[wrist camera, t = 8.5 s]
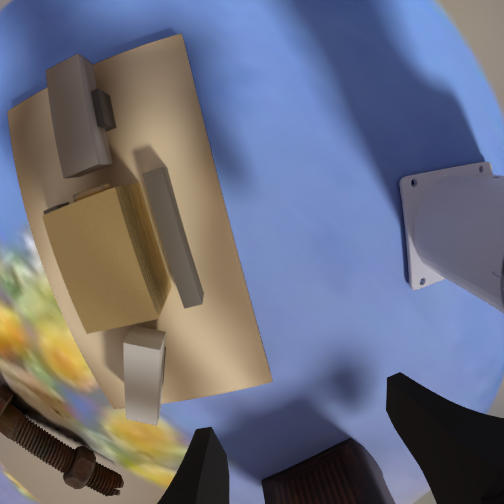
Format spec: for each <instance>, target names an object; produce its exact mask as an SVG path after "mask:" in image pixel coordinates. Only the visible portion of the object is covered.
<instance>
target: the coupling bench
mask: <svg viewBox="0 0 504 504" xmlns="http://www.w3.org/2000/svg"><path fill="white" fill-rule="evenodd" d="M46 78H47V88H45V89H43V90H41V91H40V92H38V93H36V94H34V95H33V96H31V97H29V98H28V99H26V100H24V101H23V102H21V103H20V104H18V105H16V106H15V107H13V108H12V109H10V110H9V111H7V112H8V122H9V130H10V137H11V144H12V150H13V156H14V162H15V167H16V172H17V177H18V182H19V186H20V190H21V195H22V199H23V203H24V207H25V210H26V214H27V218H28V221H29V225H30V228H31V231H32V235H33V238H34V241H35V244H36V247H37V250H38V253H39V256H40V259H41V262H42V265H43V268H44V270H45V273H46V276H47V278H48V281H49V283H50V286H51V288H52V291H53V293H54V296H55V298H56V301H57V303H58V305H59V308H60V310H61V312H62V314H63V317H64V319H65V321H66V323H67V325H68V327H69V329H70V332H71V334H72V336H73V338H74V340H75V342H76V344H77V346H78V348H79V350H80V351H81V353H82V355H83V357H84V359H85V361H86V363H87V365H88V366H89V368H90V370H91V372H92V374H93V375H94V377H95V379H96V381H97V382H98V384H99V386H100V387H101V389H102V391H103V392H104V394H105V396H106V397H107V399H108V400H109V402H110V404H111V405H112V407H113V408H114V409H119V408H126V419H129V420H133V421H138V422H142V423H147V424H152V425H157V423H158V418H159V414H160V409H161V404H163V403H170V402H177V401H183V400H189V399H195V398H201V397H206V396H211V395H217V394H222V393H227V392H231V391H236V390H241V389H245V388H249V387H254V386H258V385H262V384H266V383H270V382H273V381H272V377H271V372H270V368H269V365H268V361H267V358H266V354H265V350H264V347H263V343H262V340H261V336H260V332H259V329H258V325H257V321H256V318H255V314H254V311H253V307H252V303H251V300H250V296H249V292H248V289H247V285H246V281H245V277H244V274H243V270H242V266H241V263H240V259H239V255H238V251H237V248H236V244H235V240H234V236H233V233H232V229H231V225H230V221H229V217H228V214H227V210H226V206H225V202H224V198H223V194H222V191H221V187H220V183H219V179H218V175H217V171H216V167H215V163H214V160H213V156H212V152H211V148H210V144H209V140H208V136H207V132H206V128H205V124H204V120H203V116H202V112H201V108H200V104H199V100H198V96H197V92H196V88H195V84H194V80H193V76H192V72H191V67H190V63H189V59H188V55H187V51H186V47H185V43H184V40H183V36H182V33H181V34H178V35H174V36H171V37H167V38H164V39H161V40H157V41H154V42H151V43H148V44H145V45H142V46H139V47H136V48H133V49H131V50H128V51H125V52H123V53H120V54H117V55H115V56H112V57H110V58H107V59H105V60H103V61H100V62H98V63H96V64H92V63H91V62H90V61H88V60H87V59H86V58H84V57H83V56H81V55H80V54H79V53H78V54H76V55H74V56H72V57H70V58H68V59H66V60H64V61H62V62H60V63H58V64H57V65H55V66H53V67H51V68H49V69H47V70H46ZM106 183H110V185H111V188H114V187H119V186H124V185H129V184H135V183H140V184H141V188H142V192H143V195H144V199H145V202H146V206H147V209H148V213H149V216H150V220H151V223H152V226H153V230H154V233H155V236H156V239H157V242H158V246H159V249H160V252H161V255H162V258H163V261H164V264H165V267H166V270H167V273H168V276H169V279H170V282H171V285H172V288H171V290H170V292H169V295H168V297H167V300H166V302H165V305H164V307H163V310H162V312H161V315H160V317H159V319H155V320H151V321H146V322H142V323H137V324H132V325H128V326H123V327H118V328H114V329H109V330H104V331H99V332H94V333H89V334H87V333H86V331H85V329H84V327H83V325H82V323H81V321H80V318H79V316H78V314H77V312H76V309H75V307H74V305H73V302H72V300H71V298H70V295H69V293H68V290H67V288H66V285H65V283H64V280H63V278H62V275H61V272H60V270H59V267H58V264H57V261H56V258H55V256H54V253H53V250H52V247H51V244H50V241H49V238H48V234H47V231H46V228H45V225H44V221H43V218H42V216H43V215H45V214H47V213H50V212H52V211H54V210H57V209H59V208H62V207H64V206H67V205H69V204H72V203H74V199H73V195H75V194H77V193H79V192H82V191H84V190H87V189H90V188H93V187H96V186H99V185H102V184H106Z"/></svg>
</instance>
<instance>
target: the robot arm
mask: <svg viewBox="0 0 504 504" xmlns="http://www.w3.org/2000/svg"><path fill="white" fill-rule="evenodd" d="M479 168H480V171H479ZM412 180H414V185H413V186H412V185H411V181H412ZM399 185H400V192H401V199H402V207H403V215H404V223H405V233H406V243H407V256H408V271H409V286H410V287H411V288H412V289H413V290H418V289H420V288H423V287H426V286H428V285H431V284H433V283H436V282H438V281H441V280H443V279H447V280H449V281H451V282H453V283H454V284H456V285H458V286H459V287H461V288H463V289H465V290H466V291H468V292H470V293H471V294H473V295H475V296H476V297H478V298H480V299H481V300H483V301H484V302H486V303H488V304H489V305H491V306H493V307H494V308H496V309H497V310H499V311H501V312H502V313H504V176H500V175H493V173H492V166H491V164H490V162H479V163H473V164H468V165H462V166H456V167H451V168H445V169H440V170H435V171H429V172H424V173H419V174H414V175H409V176H404V177H402V178H401V179H400V182H399ZM422 278H423V279H422ZM421 279H422V282H421V283H420V280H421ZM386 411H387V413H388V415H389V417H390V420H391V422H392V424H393V426H394V428H395V430H396V431H397V433H398V434H399V436H400V437H401V439H402V440H403V442H404V443H405V445H406V446H407V448H408V449H409V451H410V452H411V454H412V455H413V457H414V458H415V460H416V461H417V463H418V464H419V466H420V468H421V470H422V471H423V474H424V476H425V478H426V480H427V482H428V484H429V486H430V488H431V491H432V493H433V495H434V498H435V500H436V503H437V504H504V418H499V417H495V416H490V415H486V414H483V413H479V412H476V411H473V410H470V409H468V408H465V407H462V406H460V405H458V404H456V403H453V402H451V401H449V400H447V399H445V398H443V397H441V396H440V395H438V394H436V393H434V392H432V391H430V390H429V389H427V388H425V387H424V386H422V385H420V384H419V383H417V382H415V381H414V380H412V379H410V378H409V377H407V376H406V375H404V374H402V373H401V372H399V373H397V374H395V375H392V376H390V377H387V399H386ZM157 504H229V470H228V462H227V455H226V453H225V451H224V450H223V448H222V446H221V444H220V442H219V440H218V439H217V437H216V435H215V433H214V431H213V429H212V427H207V428H201V429H196V431H195V433H194V435H193V438H192V440H191V443H190V445H189V448H188V450H187V452H186V454H185V457H184V459H183V461H182V463H181V465H180V467H179V469H178V471H177V473H176V475H175V476H174V478H173V480H172V482H171V483H170V485H169V487H168V488H167V490H166V492H165V493H164V495H163V496H162V498H161V499H160V500H159V502H158V503H157Z"/></svg>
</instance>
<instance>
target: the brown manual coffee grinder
mask: <svg viewBox="0 0 504 504" xmlns="http://www.w3.org/2000/svg"><path fill="white" fill-rule="evenodd" d="M261 484H262V486H263V493H264V499H265V504H395V502H394V500H393V498H392V496H391V494H390V492H389V490H388V488H387V485H386V483H385V480H384V478H383V474H382V471H381V469H380V468H379V466H378V464H377V463H376V461H375V460H374V459H373V458H372V457H371V455H370V454H369V453H368V452H367V451H366V450H365V448H364V447H363V446H361V445H360V444H358V443H357V442H355V441H354V440H352V439H351V438H350V439H348V440H346V441H344V442H341V443H339V444H337V445H334V446H333V447H331V448H329V449H327V450H325V451H323V452H321V453H319V454H317V455H315V456H313V457H311V458H309V459H307V460H304V461H302V462H300V463H298V464H296V465H294V466H292V467H290V468H288V469H286V470H284V471H281V472H279V473H277V474H275V475H273V476H270V477H268V478H266V479H264V480H262V483H261Z"/></svg>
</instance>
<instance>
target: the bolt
mask: <svg viewBox="0 0 504 504" xmlns="http://www.w3.org/2000/svg"><path fill="white" fill-rule="evenodd" d="M13 396H14V393H13V392H11V391H10V390H9V389H8V388H7V387H6V386H0V432H1V433H2V434H3V435H5V436H6V437H7V438H9V439H11V440H13V441H14V442H15V441H16V443H17V444H18V443H19V445H20V446H21V445H22V447H23V448H24V447H25V450H27V449H28V452H30V451H31V454H33V453H34V456H37V457H38V458H40V460H41V459H42V460H43V462H44V461H45V462H46V463H49V465H52V467H55V469H58V471H61V472H63V473H64V475H63V478H64V481H65V483H66V484H67V485H69V486H71V487H73V488H74V489H81V488H83V487H84V486H88V487H90V488H91V489H92V488H93V490H96V491H97V492H100V493H102V494H103V495H105V496H108V495H109V496H112V495H119V494H120V490H117V489H114V488H121V487H123V484H124V482H123V479H122V476H121V475H120V474H118V473H117V472H115V471H113V470H110V469H109V468H107V467H104V466H103V465H102V466H101V464H98V462H96V457H95V454H94V453H93V452H92V451H90V450H88V449H87V448H85V447H83V446H79V447H77V448H76V449H75V450H74V449H72V448H71V447H69V446H68V445H67V446H66V444H63V442H60V440H57V438H54V436H51V434H49V433H48V432H46V431H45V430H44V431H43V429H42V428H41V429H40V426H38V427H37V424H34V422H31V420H30V421H29V418H26V416H25V415H24V414H23V413H22V412H21V411H20V410H18V409H17V408H16V407H15V406H13V405H12V404H11V401H12V399H13Z"/></svg>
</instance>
